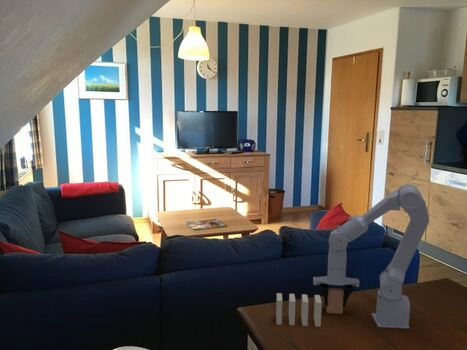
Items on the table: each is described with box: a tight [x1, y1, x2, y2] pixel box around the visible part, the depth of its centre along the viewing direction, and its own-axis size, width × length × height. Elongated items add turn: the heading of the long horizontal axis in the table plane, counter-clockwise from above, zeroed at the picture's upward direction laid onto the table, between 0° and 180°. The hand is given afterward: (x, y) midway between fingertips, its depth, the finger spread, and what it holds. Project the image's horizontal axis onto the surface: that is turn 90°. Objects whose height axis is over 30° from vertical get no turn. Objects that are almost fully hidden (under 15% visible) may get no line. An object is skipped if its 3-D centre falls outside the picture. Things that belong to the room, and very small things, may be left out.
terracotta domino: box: [326, 287, 344, 315], centre depth 132 cm, size 2×5×8 cm, turn 85°
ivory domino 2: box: [288, 293, 296, 326], centre depth 127 cm, size 2×5×8 cm, turn 175°
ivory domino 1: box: [275, 292, 283, 326], centre depth 127 cm, size 2×5×8 cm, turn 175°
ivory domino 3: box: [300, 294, 309, 327], centre depth 126 cm, size 2×5×8 cm, turn 175°
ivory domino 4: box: [313, 294, 323, 328], centre depth 126 cm, size 2×5×8 cm, turn 175°
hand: (334, 305), depth 132 cm, fingers closed on terracotta domino, 5 cm apart
